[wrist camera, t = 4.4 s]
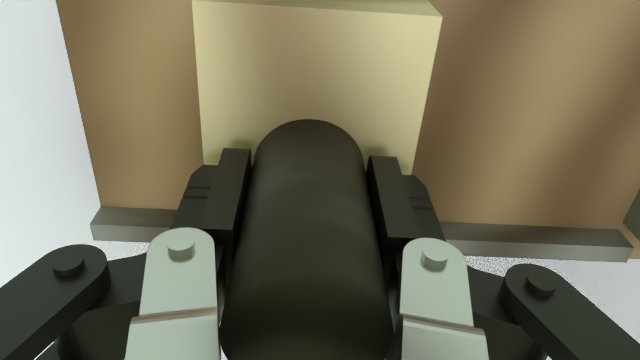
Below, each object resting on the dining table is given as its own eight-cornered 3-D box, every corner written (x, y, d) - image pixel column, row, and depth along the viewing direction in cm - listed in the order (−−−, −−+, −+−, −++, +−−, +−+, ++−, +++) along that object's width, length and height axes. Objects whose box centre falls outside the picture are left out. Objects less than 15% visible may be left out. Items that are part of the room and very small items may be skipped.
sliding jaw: (413, -16, 15) (543, 127, 7) (375, 215, 20) (423, 469, 11) (219, -30, 15) (94, 103, 6) (229, 208, 19) (166, 464, 11)
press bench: (902, -56, 16) (1277, -9, 10) (708, 241, 23) (856, 379, 17) (53, -121, 15) (-138, -116, 9) (119, 215, 22) (41, 355, 16)
